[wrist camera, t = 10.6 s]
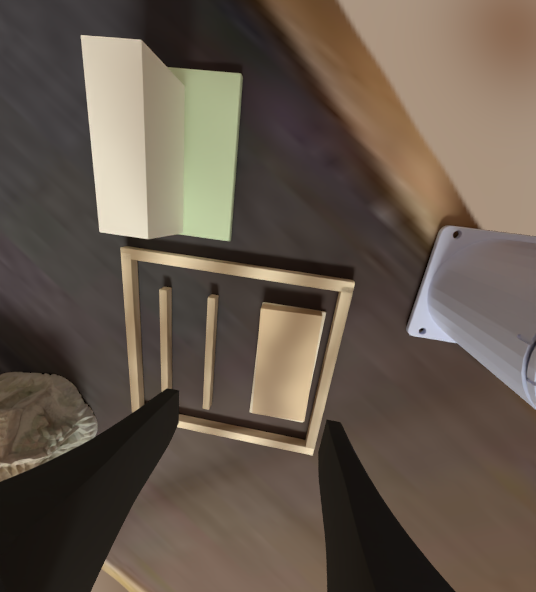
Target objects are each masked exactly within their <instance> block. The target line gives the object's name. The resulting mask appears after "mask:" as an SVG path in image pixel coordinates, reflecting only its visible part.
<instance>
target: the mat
mask: <svg viewBox="0 0 536 592" xmlns="http://www.w3.org/2000/svg"><path fill="white" fill-rule="evenodd" d="M167 68H168V69H169V70H170V71H171V72H172V73H173V74H174V75H175V76H176V77H177V78H178V79H179V80H180V81H181V82H182V84H183V85H184V86H185V114H184V206H183V233H180V234H182V235H189V236H196V237H203V238H210V239H217V240H224V241H231V234H232V220H233V206H234V193H235V179H236V165H237V151H238V138H239V124H240V110H241V96H242V82H243V77H242V75H241V73H230V72H218V71H206V70H195V69H183V68H171V67H167Z"/></svg>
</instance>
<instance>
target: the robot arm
mask: <svg viewBox="0 0 536 592" xmlns="http://www.w3.org/2000/svg"><path fill="white" fill-rule="evenodd" d="M455 231H458V236H457V237H456V238H454V237H453V233H454V232H455ZM421 328H424V330H423V331H422V332H419V329H421ZM406 330H407V332H408V333H409V334H410V335H412V336H417V337H423V338H429V339H435V340H441V341H447V342H453V343H458V344H459V345H460V346H461V347H463V348H464V349H465V350H466V351H467V352H468V353H470V354H471V355H472V356H473V357H474V358H476V359H477V360H478V361H479V362H480V363H481V364H483V365H484V366H485V367H486V368H487V369H488V370H490V371H491V372H492V373H493V374H494V375H496V376H497V377H498V378H499V379H500V380H501V381H503V382H504V383H505V384H506V385H507V386H508V387H510V388H511V389H512V390H513V391H514V392H516V393H517V394H518V395H519V396H520V397H521V398H523V399H524V400H525V401H526V402H527V403H528V404H530V405H531V406H532V407H533V408H534V409H536V236H528V235H521V234H512V233H505V232H497V231H490V230H482V229H474V228H466V227H458V226H450V225H448V226H444V227H442V228H441V229H440V230H439V232H438V235H437V238H436V241H435V244H434V247H433V250H432V253H431V256H430V259H429V262H428V265H427V268H426V271H425V274H424V277H423V280H422V283H421V286H420V289H419V292H418V295H417V298H416V300H415V303H414V306H413V309H412V312H411V315H410V318H409V321H408V324H407V328H406ZM178 423H179V390H174V389H169V388H167V389H165V390H164V391H162V392H161V393H160V394H158V395H157V396H155V397H154V398H153V399H151V400H150V401H149V402H147V403H146V404H144V405H143V406H142V407H140V408H139V409H137V410H136V411H135V412H133V413H132V414H130V415H129V416H127V417H126V418H124V419H123V420H121V421H120V422H118V423H117V424H115V425H114V426H112V427H111V428H109V429H107V430H106V431H104V432H103V433H101V434H99V435H98V436H96V437H94V438H92V439H91V440H89V441H87V442H85V443H83V444H82V445H80V446H78V447H76V448H74V449H72V450H70V451H68V452H66V453H64V454H62V455H60V456H58V457H56V458H54V459H52V460H50V461H48V462H46V463H43V464H41V465H39V466H37V467H34V468H32V469H30V470H28V471H25V472H23V473H20V474H18V475H16V476H13V477H11V478H8V479H6V480H3V481H1V482H0V592H91V590H92V587H93V585H94V583H95V581H96V578H97V577H98V574H99V572H100V570H101V568H102V566H103V564H104V562H105V559H106V557H107V555H108V553H109V551H110V549H111V547H112V545H113V543H114V541H115V539H116V537H117V535H118V533H119V531H120V529H121V527H122V525H123V523H124V521H125V519H126V517H127V515H128V513H129V511H130V509H131V507H132V505H133V503H134V501H135V500H136V498H137V496H138V494H139V493H140V491H141V489H142V488H143V486H144V484H145V483H146V481H147V480H148V478H149V476H150V475H151V473H152V471H153V470H154V468H155V466H156V465H157V463H158V462H159V460H160V458H161V457H162V455H163V453H164V452H165V450H166V448H167V447H168V445H169V443H170V441H171V439H172V437H173V435H174V432H175V430H176V428H177V426H178ZM318 460H319V485H320V495H321V504H322V513H323V522H324V531H325V542H326V559H327V592H455V591H454V590H453V588H452V587H451V586H450V585H449V584H448V583H447V582H446V580H445V579H444V578H443V577H442V576H441V575H440V574H439V572H438V571H437V570H436V569H435V568H434V567H433V565H432V564H431V563H430V562H429V561H428V559H427V558H426V557H425V556H424V554H423V553H422V552H421V551H420V549H419V548H418V547H417V546H416V544H415V543H414V542H413V541H412V539H411V538H410V537H409V535H408V534H407V533H406V531H405V530H404V529H403V527H402V526H401V525H400V523H399V522H398V521H397V519H396V518H395V516H394V515H393V513H392V512H391V511H390V509H389V508H388V506H387V505H386V503H385V502H384V500H383V499H382V497H381V496H380V494H379V492H378V491H377V489H376V488H375V486H374V484H373V483H372V481H371V479H370V478H369V476H368V474H367V473H366V471H365V469H364V467H363V466H362V464H361V462H360V460H359V458H358V457H357V455H356V453H355V451H354V449H353V447H352V445H351V443H350V441H349V439H348V437H347V435H346V433H345V431H344V428H343V426H342V424H341V423H340V422H336V421H331V420H327V421H326V425H325V429H324V433H323V436H322V440H321V444H320V448H319V452H318Z"/></svg>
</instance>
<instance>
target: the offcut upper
mask: <svg viewBox="0 0 536 592" xmlns="http://www.w3.org/2000/svg"><path fill="white" fill-rule="evenodd" d="M321 322H322V312H321V311H316V310H308V309H300V308H292V307H284V306H276V305H269V304H263V305H262V307H261V314H260V326H259V338H258V349H257V361H256V373H255V385H254V397H253V408H252V413H255V414H261V415H267V416H273V417H279V418H285V419H291V420H297V421H303V422H304V420H305V414H306V409H307V403H308V397H309V391H310V385H311V380H312V374H313V368H314V362H315V356H316V351H317V345H318V339H319V333H320V327H321Z"/></svg>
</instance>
